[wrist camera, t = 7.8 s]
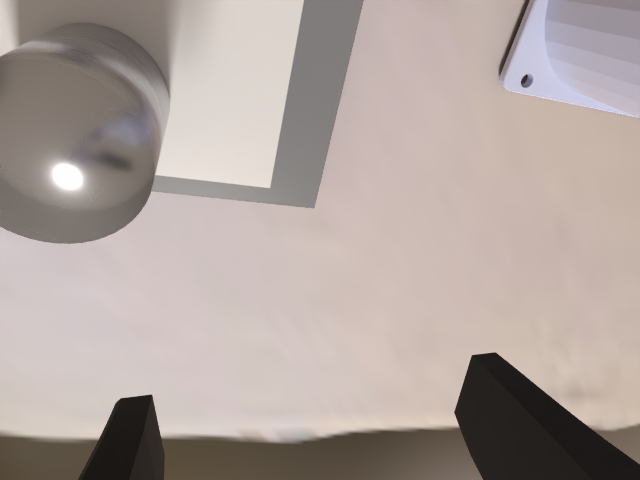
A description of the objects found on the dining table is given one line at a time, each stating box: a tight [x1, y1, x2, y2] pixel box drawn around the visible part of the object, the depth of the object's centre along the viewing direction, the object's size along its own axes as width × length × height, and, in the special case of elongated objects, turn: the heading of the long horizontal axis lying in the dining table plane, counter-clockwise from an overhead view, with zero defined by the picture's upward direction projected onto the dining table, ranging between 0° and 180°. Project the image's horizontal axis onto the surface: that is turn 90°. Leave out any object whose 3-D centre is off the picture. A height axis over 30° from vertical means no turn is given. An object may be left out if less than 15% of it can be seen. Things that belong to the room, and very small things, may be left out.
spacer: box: [0, 23, 170, 244], centre depth 12 cm, size 4×4×5 cm
